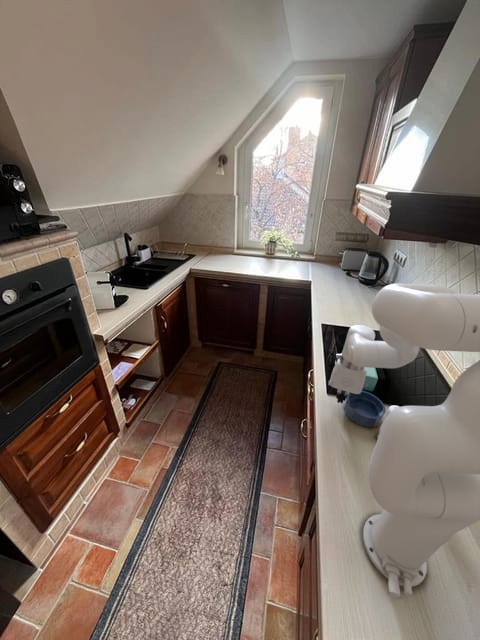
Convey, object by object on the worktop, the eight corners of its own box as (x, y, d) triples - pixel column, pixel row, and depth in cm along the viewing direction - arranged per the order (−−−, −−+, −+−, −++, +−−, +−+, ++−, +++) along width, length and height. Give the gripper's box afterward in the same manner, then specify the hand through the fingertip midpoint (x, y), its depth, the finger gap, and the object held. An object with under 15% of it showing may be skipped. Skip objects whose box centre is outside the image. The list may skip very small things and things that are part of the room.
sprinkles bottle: (378, 430, 84) (392, 402, 77) (393, 439, 81) (408, 410, 75) (374, 439, 81) (387, 410, 74) (389, 448, 78) (404, 420, 72)
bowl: (381, 433, 83) (386, 423, 81) (342, 420, 88) (345, 410, 85) (380, 407, 93) (384, 397, 90) (345, 395, 97) (348, 386, 95)
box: (353, 388, 101) (358, 374, 97) (350, 367, 112) (354, 353, 108) (373, 392, 99) (379, 378, 95) (367, 370, 110) (372, 357, 107)
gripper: (327, 361, 82) (317, 401, 91) (378, 374, 77) (362, 415, 86) (330, 348, 88) (320, 387, 97) (377, 360, 83) (362, 399, 92)
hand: (340, 400), depth 92 cm, fingers closed
